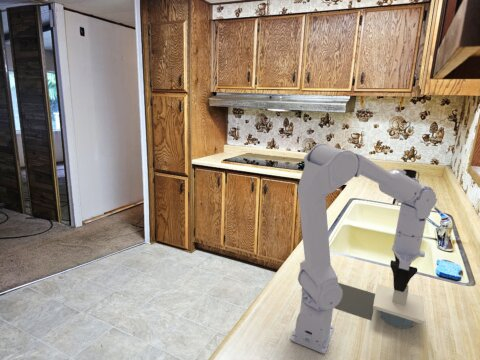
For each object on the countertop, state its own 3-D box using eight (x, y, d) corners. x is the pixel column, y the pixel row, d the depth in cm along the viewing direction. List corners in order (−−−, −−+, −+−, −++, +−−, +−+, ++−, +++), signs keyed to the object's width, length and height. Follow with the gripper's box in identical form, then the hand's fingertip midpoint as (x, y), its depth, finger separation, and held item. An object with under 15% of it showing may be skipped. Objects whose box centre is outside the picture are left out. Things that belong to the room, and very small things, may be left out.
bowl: (412, 333, 76) (415, 317, 75) (379, 322, 79) (381, 306, 78) (412, 316, 82) (415, 300, 81) (381, 306, 85) (384, 291, 84)
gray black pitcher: (394, 192, 199) (398, 169, 196) (409, 190, 206) (413, 168, 202) (407, 196, 192) (411, 172, 188) (422, 194, 198) (426, 171, 194)
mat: (371, 321, 79) (371, 320, 79) (319, 304, 85) (319, 303, 85) (376, 295, 90) (376, 294, 90) (330, 281, 96) (330, 280, 96)
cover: (424, 324, 72) (428, 306, 71) (372, 308, 77) (375, 291, 76) (422, 299, 82) (426, 282, 81) (376, 286, 87) (379, 270, 86)
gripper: (429, 248, 67) (417, 303, 71) (427, 226, 80) (417, 274, 83) (393, 240, 71) (383, 293, 74) (396, 220, 83) (388, 266, 86)
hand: (399, 282), depth 79 cm, fingers open, 7 cm apart
